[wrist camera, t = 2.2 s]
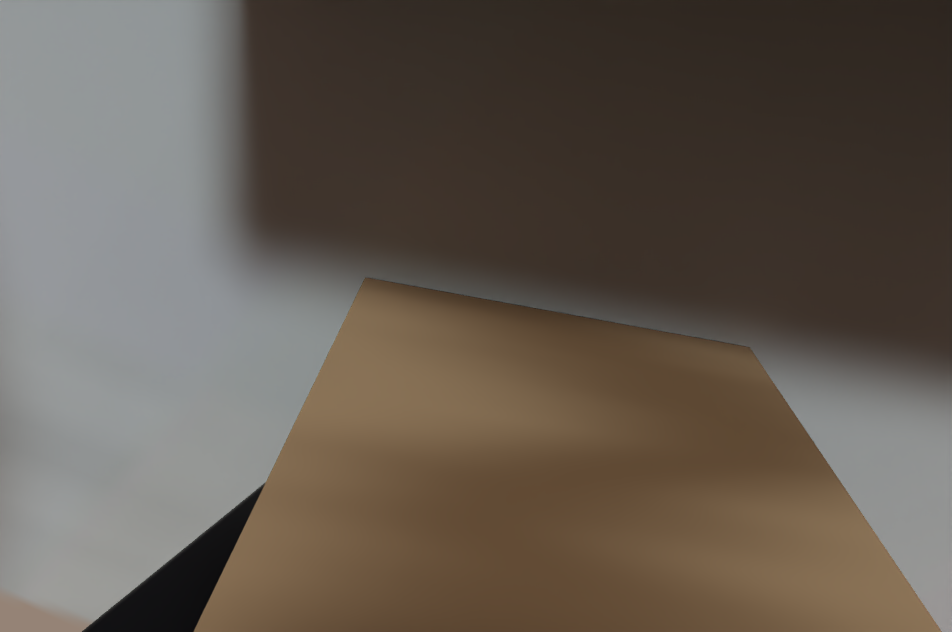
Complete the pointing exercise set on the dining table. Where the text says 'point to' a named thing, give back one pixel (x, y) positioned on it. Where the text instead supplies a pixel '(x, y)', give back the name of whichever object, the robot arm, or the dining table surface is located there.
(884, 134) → the dining table surface
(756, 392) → the cube
